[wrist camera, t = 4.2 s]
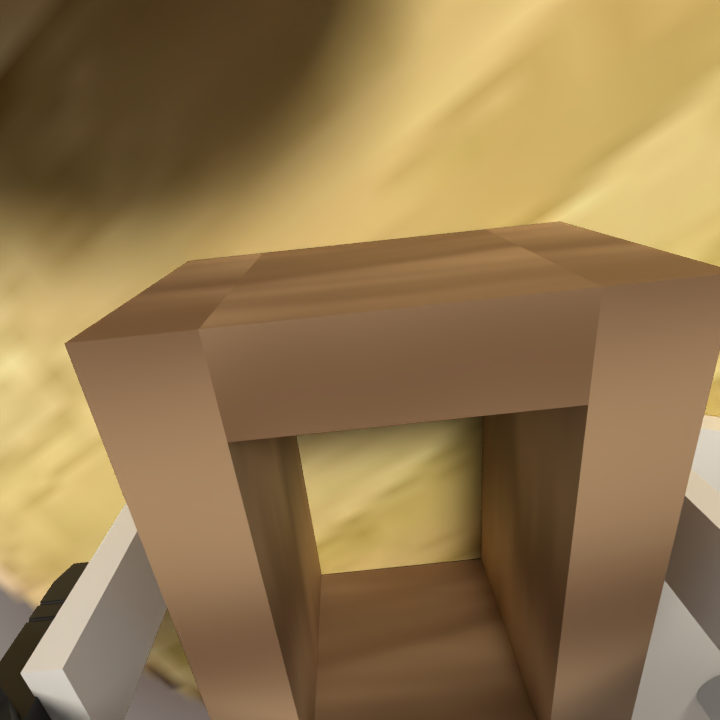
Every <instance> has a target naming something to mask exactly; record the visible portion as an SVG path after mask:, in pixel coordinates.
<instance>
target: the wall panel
mask: <svg viewBox="0 0 720 720" xmlns="http://www.w3.org/2000/svg"><path fill="white" fill-rule="evenodd" d="M691 469H692V470H693V471H695V472H696V473H697V474H698V475H699V476H700V477H701V478H703V479H704V480H705V481H706V482H707V483H708V484H709V485H711V486H712V487H713V488H714V489H715V490H716V491H717V492H718V493H720V417H715V416H707V415H704V418H703V422H702V426H701V430H700V434H699V438H698V443H697V447H696V451H695V455H694V459H693V464H692V468H691ZM631 720H720V651H719V650H718V648H717V647H716V646H715V645H714V643H713V642H712V641H711V639H710V638H709V637H708V636H707V634H706V633H705V632H704V630H703V629H702V628H701V626H700V625H699V624H698V623H697V621H696V620H695V619H694V617H693V616H692V615H691V614H690V612H689V611H688V610H687V608H686V607H685V606H684V605H683V603H682V602H681V601H680V599H679V598H678V597H677V595H676V594H675V593H674V592H673V590H672V589H671V588H670V586H669V585H668V584H667V583H666V581H664V585H663V589H662V593H661V597H660V601H659V606H658V610H657V614H656V618H655V622H654V627H653V631H652V635H651V639H650V643H649V647H648V652H647V656H646V660H645V664H644V668H643V672H642V677H641V681H640V685H639V689H638V693H637V698H636V702H635V706H634V710H633V714H632V718H631Z"/></svg>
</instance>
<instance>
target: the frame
mask: <svg viewBox="0 0 720 720" xmlns="http://www.w3.org/2000/svg"><path fill="white" fill-rule="evenodd" d="M65 346H66V349H67V351H68V354H69V356H70V359H71V362H72V364H73V367H74V369H75V372H76V374H77V377H78V380H79V382H80V385H81V387H82V390H83V392H84V395H85V398H86V400H87V403H88V405H89V408H90V410H91V413H92V416H93V418H94V421H95V423H96V426H97V428H98V431H99V434H100V436H101V439H102V441H103V444H104V447H105V449H106V452H107V454H108V457H109V459H110V462H111V465H112V467H113V470H114V472H115V475H116V477H117V480H118V483H119V485H120V488H121V490H122V493H123V495H124V498H125V501H126V503H127V506H128V508H129V511H130V513H131V516H132V519H133V521H134V524H135V526H136V529H137V531H138V534H139V537H140V539H141V542H142V544H143V547H144V549H145V552H146V555H147V557H148V560H149V562H150V565H151V568H152V570H153V573H154V575H155V578H156V580H157V583H158V586H159V588H160V591H161V593H162V596H163V598H164V601H165V604H166V606H167V609H168V611H169V614H170V616H171V619H172V622H173V624H174V627H175V629H176V632H177V634H178V637H179V640H180V642H181V645H182V647H183V650H184V652H185V655H186V658H187V660H188V663H189V665H190V668H191V671H192V673H193V676H194V678H195V681H196V683H197V686H198V689H199V691H200V694H201V696H202V699H203V701H204V704H205V707H206V709H207V712H208V714H209V717H210V719H211V720H631V718H632V714H633V710H634V706H635V702H636V698H637V693H638V689H639V685H640V681H641V677H642V672H643V668H644V664H645V660H646V656H647V652H648V647H649V643H650V639H651V635H652V631H653V627H654V622H655V618H656V614H657V610H658V606H659V601H660V597H661V593H662V589H663V585H664V581H665V576H666V572H667V568H668V564H669V560H670V555H671V551H672V547H673V543H674V539H675V535H676V530H677V526H678V522H679V518H680V514H681V509H682V505H683V501H684V497H685V493H686V489H687V484H688V480H689V476H690V472H691V468H692V464H693V459H694V455H695V451H696V447H697V443H698V438H699V434H700V430H701V426H702V422H703V418H704V413H705V409H706V405H707V401H708V397H709V392H710V388H711V384H712V380H713V376H714V372H715V367H716V363H717V359H718V355H719V351H720V267H718V266H714V265H711V264H707V263H704V262H700V261H697V260H693V259H690V258H686V257H683V256H679V255H676V254H672V253H669V252H665V251H662V250H658V249H655V248H651V247H648V246H644V245H640V244H637V243H633V242H630V241H626V240H623V239H619V238H616V237H612V236H609V235H605V234H602V233H598V232H595V231H591V230H588V229H584V228H581V227H577V226H574V225H570V224H567V223H563V222H551V223H541V224H532V225H522V226H513V227H504V228H494V229H485V230H475V231H466V232H457V233H447V234H438V235H428V236H419V237H410V238H400V239H391V240H382V241H372V242H363V243H353V244H344V245H335V246H325V247H316V248H306V249H297V250H288V251H278V252H269V253H260V254H250V255H241V256H231V257H222V258H213V259H203V260H194V261H188V262H186V263H185V264H183V265H182V266H180V267H179V268H177V269H176V270H174V271H173V272H171V273H170V274H168V275H167V276H165V277H164V278H162V279H161V280H159V281H158V282H156V283H155V284H153V285H152V286H150V287H149V288H147V289H146V290H144V291H143V292H141V293H140V294H138V295H137V296H135V297H134V298H132V299H131V300H129V301H128V302H126V303H125V304H123V305H122V306H120V307H119V308H117V309H116V310H114V311H113V312H111V313H110V314H108V315H107V316H105V317H104V318H102V319H101V320H99V321H98V322H96V323H95V324H93V325H92V326H90V327H89V328H87V329H86V330H84V331H83V332H81V333H80V334H78V335H77V336H75V337H74V338H72V339H71V340H69V341H68V342H66V343H65ZM477 416H483V458H482V539H481V559H475V560H465V561H455V562H445V563H435V564H426V565H416V566H406V567H396V568H387V569H377V570H367V571H357V572H347V573H338V574H328V575H321V570H320V564H319V559H318V553H317V548H316V542H315V537H314V531H313V526H312V520H311V515H310V510H309V504H308V499H307V493H306V488H305V482H304V477H303V471H302V466H301V460H300V455H299V449H298V444H297V439H296V435H304V434H313V433H323V432H332V431H342V430H352V429H361V428H371V427H380V426H390V425H400V424H409V423H419V422H429V421H438V420H448V419H457V418H467V417H477Z"/></svg>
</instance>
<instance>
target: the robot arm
mask: <svg viewBox="0 0 720 720" xmlns="http://www.w3.org/2000/svg"><path fill="white" fill-rule="evenodd" d="M665 581H666V583H667V584H668V585H669V586H670V588H671V589H672V590H673V592H674V593H675V594H676V595H677V597H678V598H679V599H680V601H681V602H682V603H683V605H684V606H685V607H686V608H687V610H688V611H689V612H690V614H691V615H692V616H693V617H694V619H695V620H696V621H697V623H698V624H699V625H700V626H701V628H702V629H703V630H704V632H705V633H706V634H707V636H708V637H709V638H710V639H711V641H712V642H713V643H714V645H715V646H716V647H717V648H718V650H719V651H720V493H718V492H717V491H716V490H715V489H714V488H713V487H712V486H711V485H709V484H708V483H707V482H706V481H705V480H704V479H703V478H701V477H700V476H699V475H698V474H697V473H696V472H695V471H693V470H692V469H691V472H690V476H689V480H688V484H687V489H686V493H685V497H684V501H683V505H682V509H681V514H680V518H679V522H678V526H677V530H676V535H675V539H674V543H673V547H672V551H671V555H670V560H669V564H668V568H667V572H666V576H665ZM166 609H167V606H166V604H165V601H164V598H163V596H162V593H161V591H160V588H159V586H158V583H157V580H156V578H155V575H154V573H153V570H152V568H151V565H150V562H149V560H148V557H147V555H146V552H145V549H144V547H143V544H142V542H141V539H140V537H139V534H138V531H137V529H136V526H135V524H134V521H133V519H132V516H131V513H130V511H129V508H128V506H127V503H126V504H125V505H124V507H123V509H122V510H121V512H120V513H119V515H118V517H117V518H116V520H115V521H114V523H113V525H112V526H111V528H110V529H109V531H108V533H107V534H106V536H105V538H104V539H103V541H102V542H101V544H100V546H99V547H98V549H97V550H96V552H95V554H94V555H93V557H92V559H91V560H90V562H86V563H77V564H73V565H72V566H71V567H70V568H69V569H67V570H66V571H65V572H64V573H63V574H62V575H61V576H60V577H59V578H58V579H57V580H55V581H54V583H53V584H52V585H51V587H50V588H49V590H48V591H47V593H46V594H45V596H44V597H43V599H42V600H41V604H40V606H37V608H36V609H35V611H34V612H33V614H32V615H31V617H30V618H29V622H28V623H26V624H25V625H24V627H23V628H22V630H21V632H20V633H19V634H18V636H17V638H16V639H15V640H14V642H13V643H12V645H11V646H10V648H9V649H8V651H7V652H6V654H5V655H4V657H3V658H2V660H1V661H0V720H124V719H125V716H126V713H127V711H128V708H129V706H130V703H131V700H132V698H133V695H134V693H135V690H136V687H137V685H138V682H139V679H140V677H141V674H142V672H143V669H144V667H145V664H146V661H147V659H148V656H149V654H150V651H151V648H152V646H153V643H154V640H155V638H156V635H157V633H158V630H159V627H160V625H161V622H162V620H163V617H164V614H165V612H166Z"/></svg>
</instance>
